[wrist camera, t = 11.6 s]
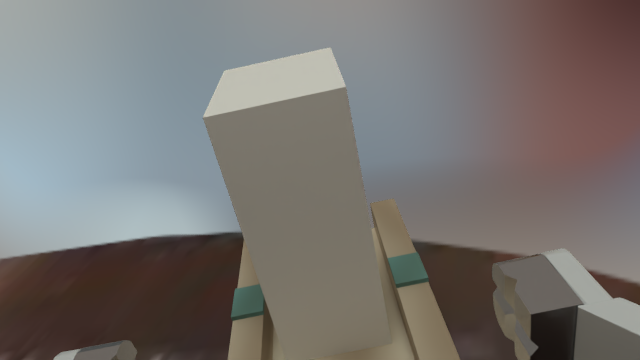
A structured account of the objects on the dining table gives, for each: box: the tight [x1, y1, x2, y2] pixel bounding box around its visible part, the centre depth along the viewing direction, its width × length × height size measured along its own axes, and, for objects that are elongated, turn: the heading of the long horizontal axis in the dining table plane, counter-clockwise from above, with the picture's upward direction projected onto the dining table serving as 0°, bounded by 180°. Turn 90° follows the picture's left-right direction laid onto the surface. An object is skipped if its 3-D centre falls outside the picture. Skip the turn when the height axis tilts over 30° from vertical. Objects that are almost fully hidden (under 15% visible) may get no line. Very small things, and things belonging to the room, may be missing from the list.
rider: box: [203, 48, 392, 360], centre depth 17 cm, size 4×5×10 cm
